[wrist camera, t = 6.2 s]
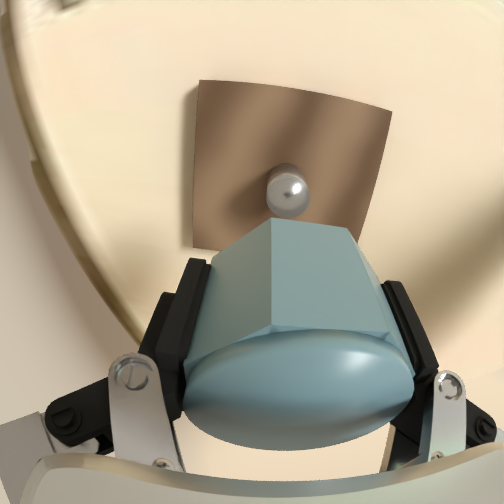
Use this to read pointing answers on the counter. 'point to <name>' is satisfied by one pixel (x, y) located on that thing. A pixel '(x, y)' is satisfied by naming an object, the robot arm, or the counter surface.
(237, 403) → the cap
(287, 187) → the post
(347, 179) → the brown flat square piece
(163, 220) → the counter surface
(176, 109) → the counter surface
